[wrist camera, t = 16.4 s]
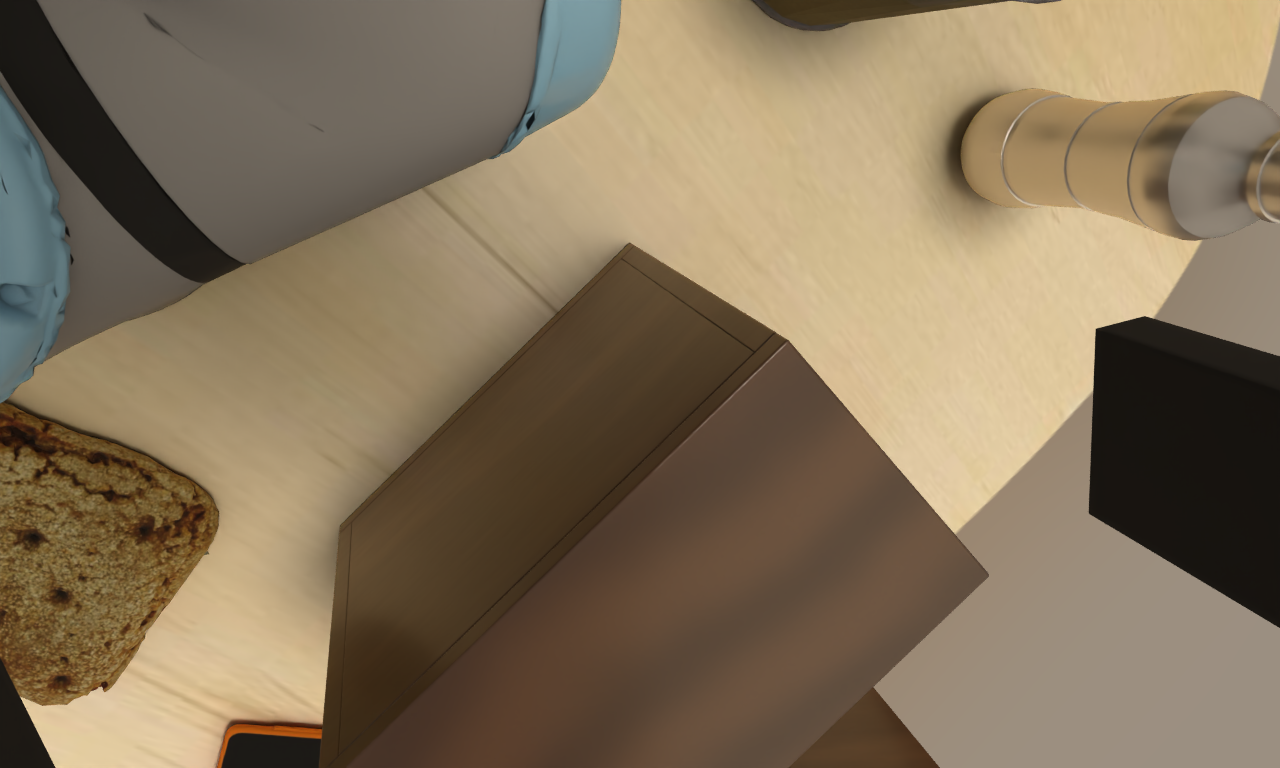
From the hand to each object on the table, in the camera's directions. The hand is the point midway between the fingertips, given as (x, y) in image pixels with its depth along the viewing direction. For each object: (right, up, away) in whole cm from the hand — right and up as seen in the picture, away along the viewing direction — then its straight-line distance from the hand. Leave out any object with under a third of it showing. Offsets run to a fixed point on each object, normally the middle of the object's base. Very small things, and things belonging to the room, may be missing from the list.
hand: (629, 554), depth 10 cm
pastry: (-30, -6, +33) cm, 45 cm away
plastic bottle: (+21, +16, +41) cm, 49 cm away
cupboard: (-4, -3, +40) cm, 40 cm away
